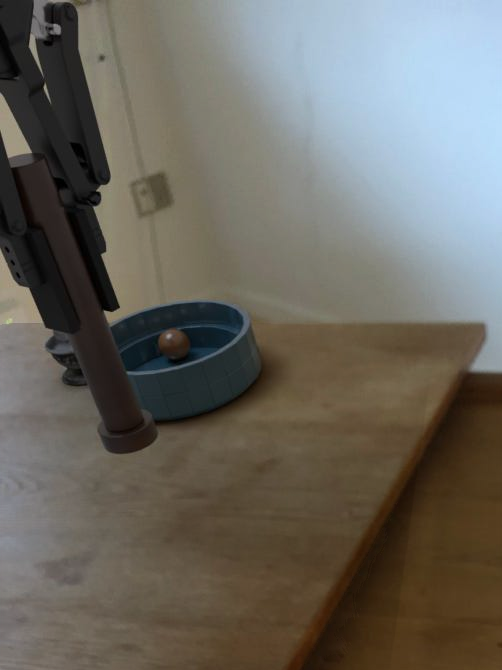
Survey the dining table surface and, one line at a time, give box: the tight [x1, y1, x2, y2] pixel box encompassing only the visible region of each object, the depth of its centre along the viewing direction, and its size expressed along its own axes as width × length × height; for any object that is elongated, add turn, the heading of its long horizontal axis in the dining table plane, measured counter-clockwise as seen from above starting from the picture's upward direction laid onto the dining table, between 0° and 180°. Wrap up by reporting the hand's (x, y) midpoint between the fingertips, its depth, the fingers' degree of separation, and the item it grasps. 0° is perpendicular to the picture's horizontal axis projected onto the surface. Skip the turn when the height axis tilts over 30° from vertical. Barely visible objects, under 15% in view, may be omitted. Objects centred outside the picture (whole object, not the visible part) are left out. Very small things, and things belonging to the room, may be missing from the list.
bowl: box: [108, 299, 263, 422], centre depth 90 cm, size 15×15×5 cm
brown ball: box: [158, 329, 190, 361], centre depth 94 cm, size 3×3×3 cm
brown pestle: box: [8, 152, 159, 455], centre depth 64 cm, size 4×4×20 cm
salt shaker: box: [44, 330, 88, 387], centre depth 92 cm, size 6×6×12 cm
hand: (83, 317), depth 65 cm, fingers closed on brown pestle, 3 cm apart
